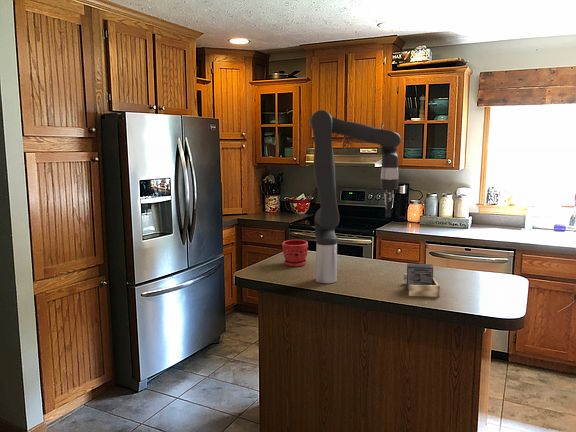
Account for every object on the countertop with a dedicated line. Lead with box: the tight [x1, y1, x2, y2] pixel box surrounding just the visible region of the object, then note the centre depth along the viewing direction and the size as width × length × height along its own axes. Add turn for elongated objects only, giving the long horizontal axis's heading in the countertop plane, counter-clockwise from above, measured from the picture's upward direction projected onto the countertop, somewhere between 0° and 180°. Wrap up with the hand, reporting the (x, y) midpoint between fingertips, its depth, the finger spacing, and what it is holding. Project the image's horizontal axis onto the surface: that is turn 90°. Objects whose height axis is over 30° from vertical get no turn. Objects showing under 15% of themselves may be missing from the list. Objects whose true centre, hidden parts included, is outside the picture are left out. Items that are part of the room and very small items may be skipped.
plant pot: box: [281, 239, 309, 267], centre depth 239 cm, size 13×13×12 cm
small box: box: [406, 263, 434, 292], centre depth 196 cm, size 11×6×10 cm, turn 77°
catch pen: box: [403, 273, 441, 298], centre depth 196 cm, size 12×17×4 cm
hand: (388, 217), depth 206 cm, fingers closed
